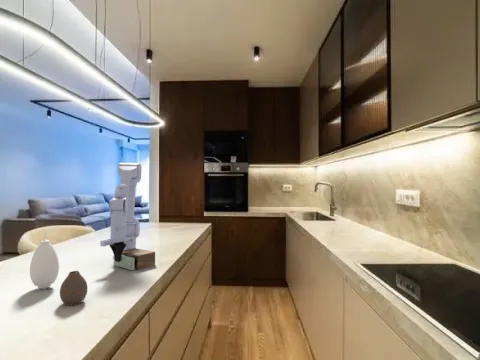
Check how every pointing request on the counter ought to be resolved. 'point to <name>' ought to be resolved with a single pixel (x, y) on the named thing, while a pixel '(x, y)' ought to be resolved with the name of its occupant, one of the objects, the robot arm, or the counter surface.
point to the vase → (73, 289)
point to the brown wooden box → (141, 257)
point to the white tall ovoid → (44, 265)
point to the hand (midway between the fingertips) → (117, 261)
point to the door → (125, 262)
